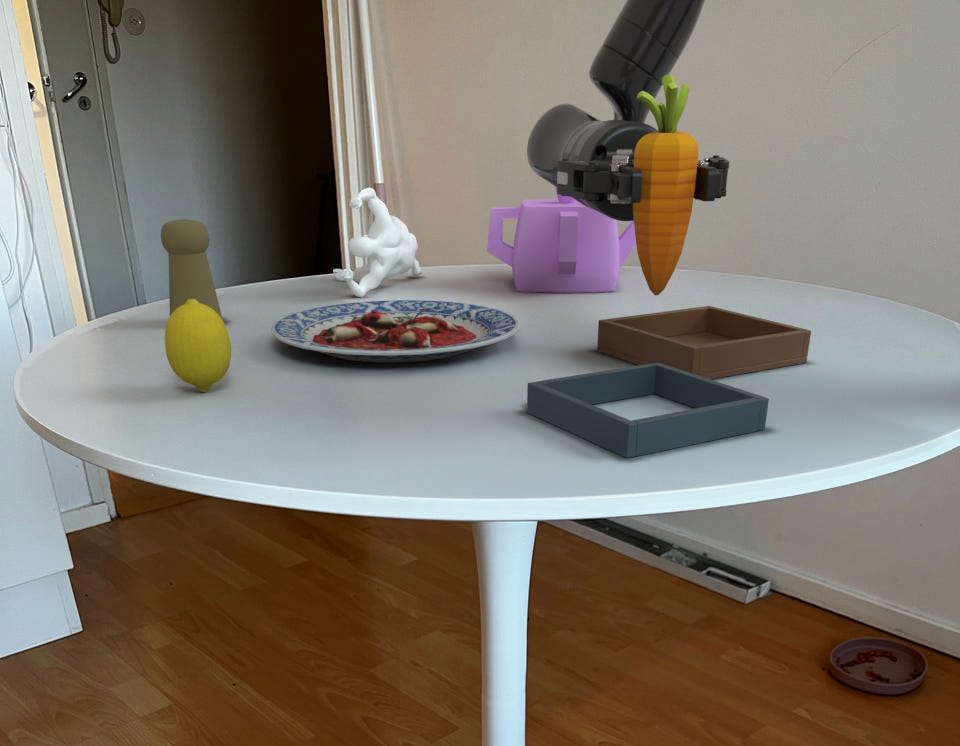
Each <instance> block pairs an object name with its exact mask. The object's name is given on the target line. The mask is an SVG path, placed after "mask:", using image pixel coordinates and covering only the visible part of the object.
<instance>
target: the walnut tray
mask: <svg viewBox="0 0 960 746" xmlns="http://www.w3.org/2000/svg"><path fill="white" fill-rule="evenodd" d="M597 325H598V327H597V347H596V348H597V349H596V351H597V352H599V353H601V354H604V355H608V356H610V357H614V358H616V359H618V360H619V359H620V360H622V361H625V362H628V363H632V364H635V365H636V366H638V365H644V364H652V363H657V362H658V363H661V364H664V365H667V366H671V367H674V368H677V369H680V370H683V371H686V372H689V373H692V374H695V375H698V376H701V377H704V378H707V379H711V380H714V379H720V378H725V377H731V376H738V375H742V374H748V373H749V374H750V373H754V372H761V371H767V370H773V369H779V368H783V367H789V366H797V365H801V364H802V365H803V364H807V363H808V355H809V348H810V343H811V336H812V335H811V334H812V330H811V329H808V328H807V329H806V328H803V327H799V326H795V325H790V324H786V323H783V322H777V321H773V320H769V319H766V318H763V317H762V318H761V317H757V316H753V315H750V314H745V313H741V312H736V311H732V310H728V309H725V308H720V307H717V306H712V305H705V306H698V307H690V308H681V309H675V310H667V311H658V312H651V313H644V314H635V315H628V316H622V317H621V316H620V317H613V318H606V319H605V318H604V319H598V324H597Z"/></svg>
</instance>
